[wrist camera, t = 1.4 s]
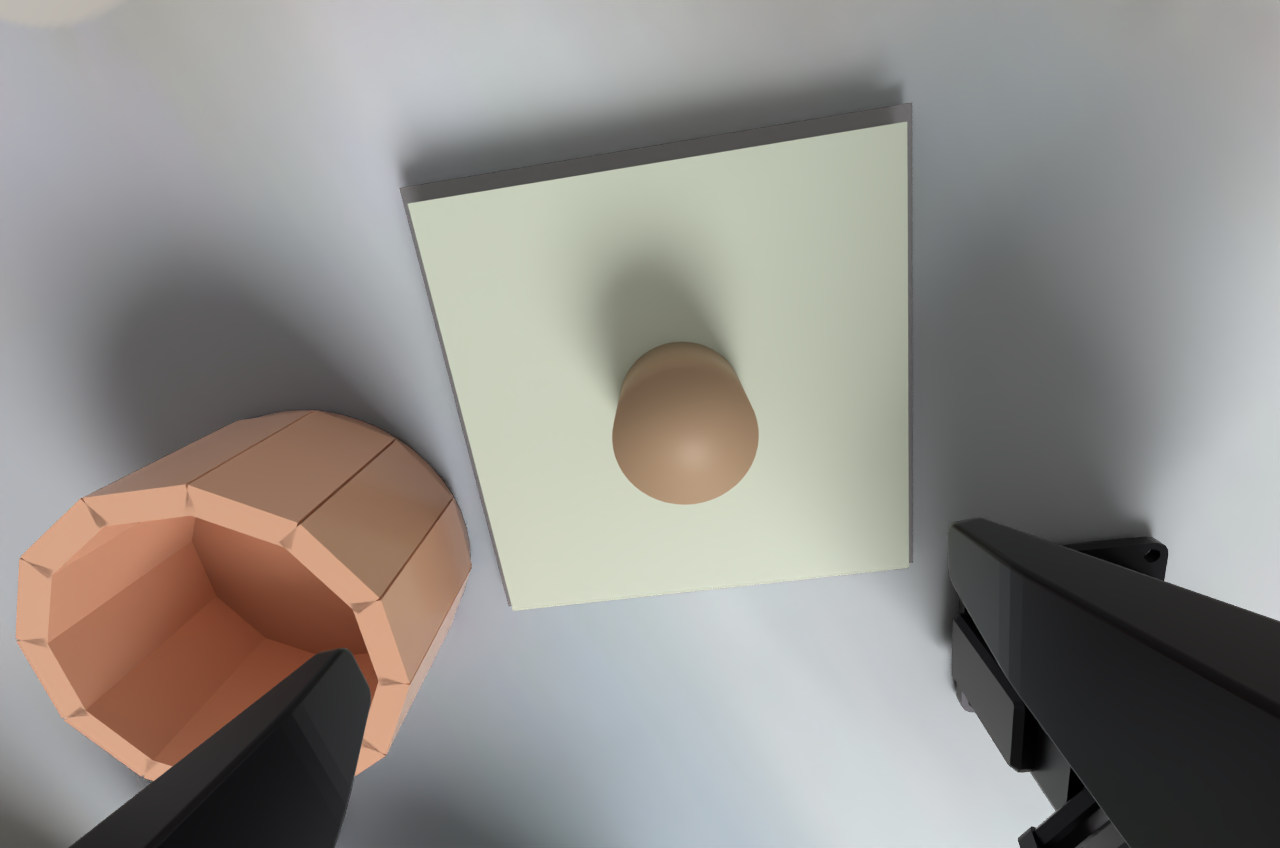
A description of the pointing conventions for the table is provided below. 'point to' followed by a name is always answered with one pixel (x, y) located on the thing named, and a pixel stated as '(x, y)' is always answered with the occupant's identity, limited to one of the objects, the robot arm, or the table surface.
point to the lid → (685, 367)
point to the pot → (243, 583)
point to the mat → (660, 155)
